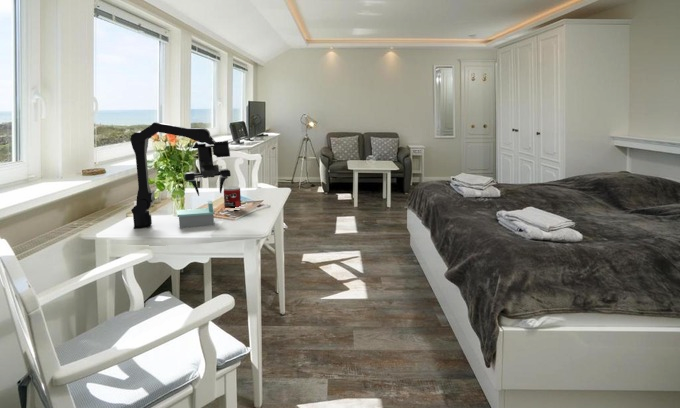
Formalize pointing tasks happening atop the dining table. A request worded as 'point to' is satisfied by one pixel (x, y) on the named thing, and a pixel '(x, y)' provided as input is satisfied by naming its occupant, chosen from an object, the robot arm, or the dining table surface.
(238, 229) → the dining table surface
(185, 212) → the lid
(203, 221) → the tub
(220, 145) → the robot arm
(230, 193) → the canned food
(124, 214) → the dining table surface
